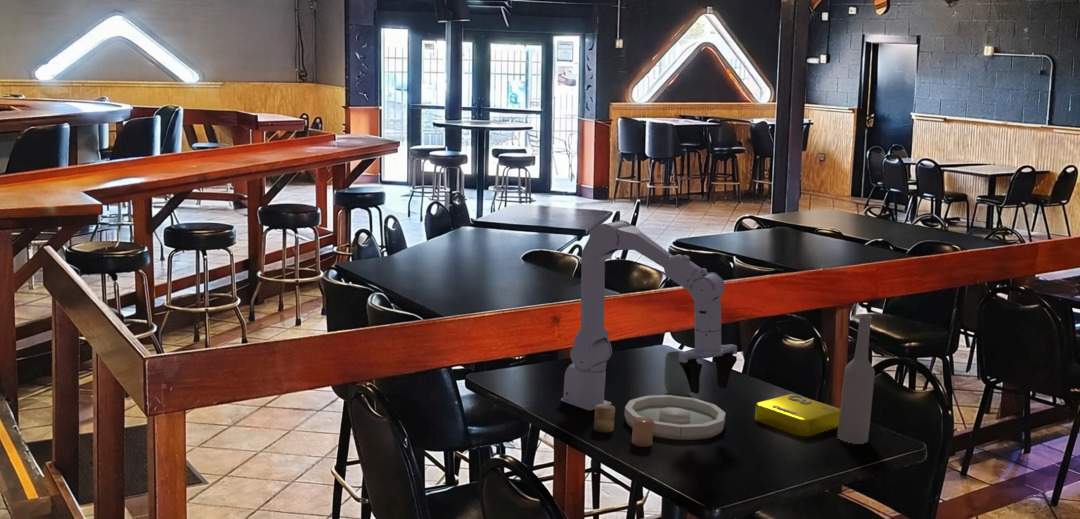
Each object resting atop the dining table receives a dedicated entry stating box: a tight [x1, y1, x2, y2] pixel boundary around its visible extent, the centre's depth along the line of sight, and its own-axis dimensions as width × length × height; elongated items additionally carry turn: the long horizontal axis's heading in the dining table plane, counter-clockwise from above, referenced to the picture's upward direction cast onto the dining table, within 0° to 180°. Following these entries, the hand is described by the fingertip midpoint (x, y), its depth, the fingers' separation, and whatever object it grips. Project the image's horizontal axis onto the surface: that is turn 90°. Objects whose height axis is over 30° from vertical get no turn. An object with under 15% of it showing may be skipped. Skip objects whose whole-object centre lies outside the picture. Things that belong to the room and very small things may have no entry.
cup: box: [663, 350, 698, 397], centre depth 257 cm, size 8×8×10 cm
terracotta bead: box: [631, 417, 654, 448], centre depth 222 cm, size 4×4×5 cm
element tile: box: [754, 393, 840, 438], centre depth 241 cm, size 15×15×5 cm
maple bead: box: [593, 404, 616, 433], centre depth 230 cm, size 4×4×5 cm
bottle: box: [836, 314, 876, 445], centre depth 229 cm, size 7×7×28 cm
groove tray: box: [623, 394, 726, 441], centre depth 236 cm, size 22×22×3 cm
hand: (708, 390), depth 230 cm, fingers open, 7 cm apart
